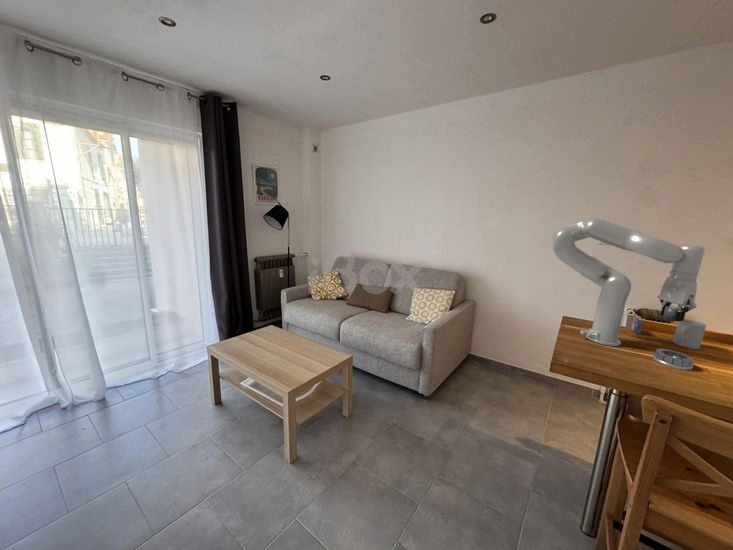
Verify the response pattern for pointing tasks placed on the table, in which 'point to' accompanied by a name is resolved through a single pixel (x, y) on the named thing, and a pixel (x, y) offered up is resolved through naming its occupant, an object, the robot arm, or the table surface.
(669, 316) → the cap
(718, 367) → the table surface
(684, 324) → the mug
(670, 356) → the grey notched ring
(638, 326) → the mini dv tape
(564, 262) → the robot arm
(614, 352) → the table surface
